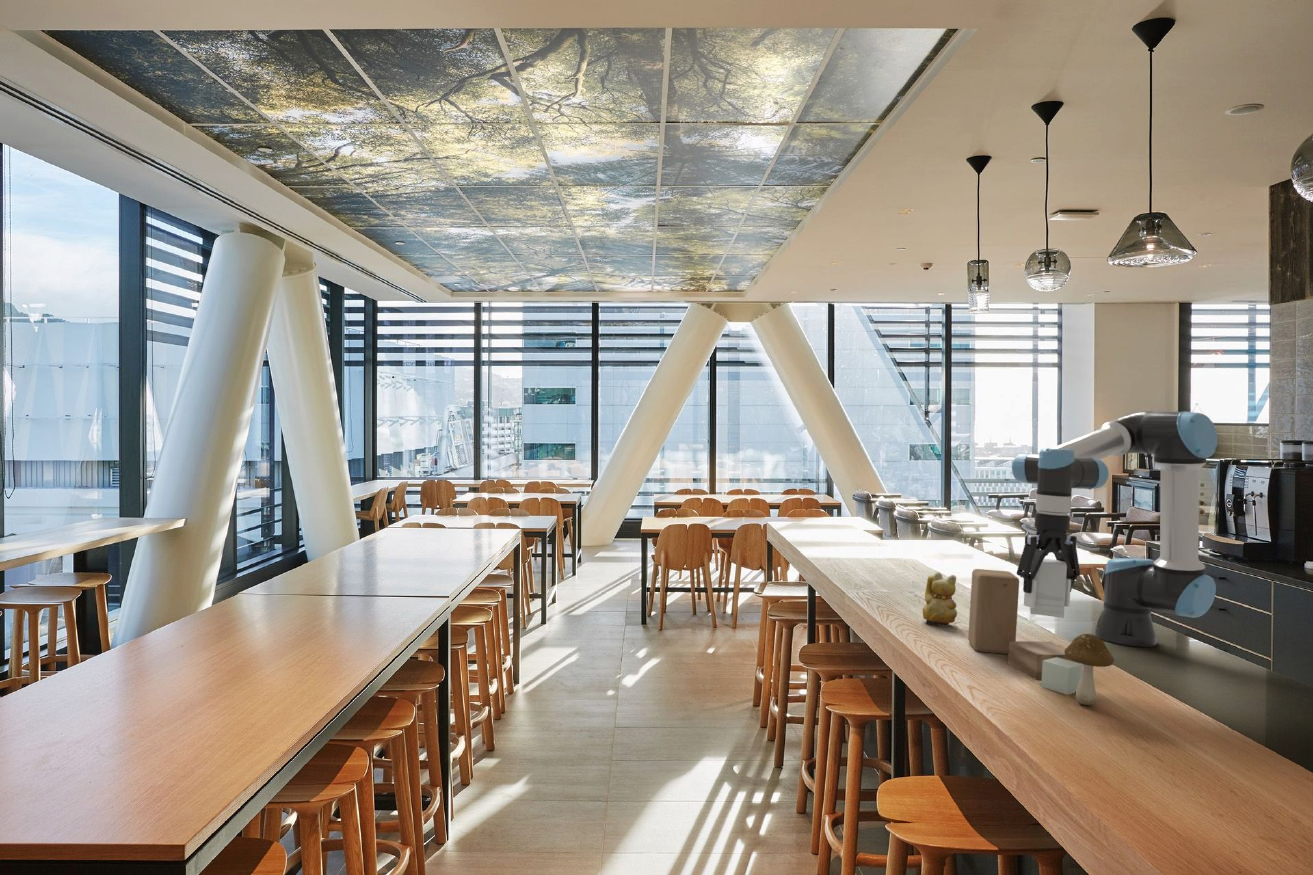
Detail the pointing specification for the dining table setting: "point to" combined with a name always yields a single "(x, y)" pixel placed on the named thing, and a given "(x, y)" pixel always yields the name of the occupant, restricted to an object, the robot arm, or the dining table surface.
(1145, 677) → the dining table surface
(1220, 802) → the dining table surface
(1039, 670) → the base block
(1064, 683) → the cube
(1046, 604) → the supplement box
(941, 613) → the decorative figurine
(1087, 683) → the mushroom
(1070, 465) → the robot arm
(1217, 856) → the dining table surface
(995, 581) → the wooden block
